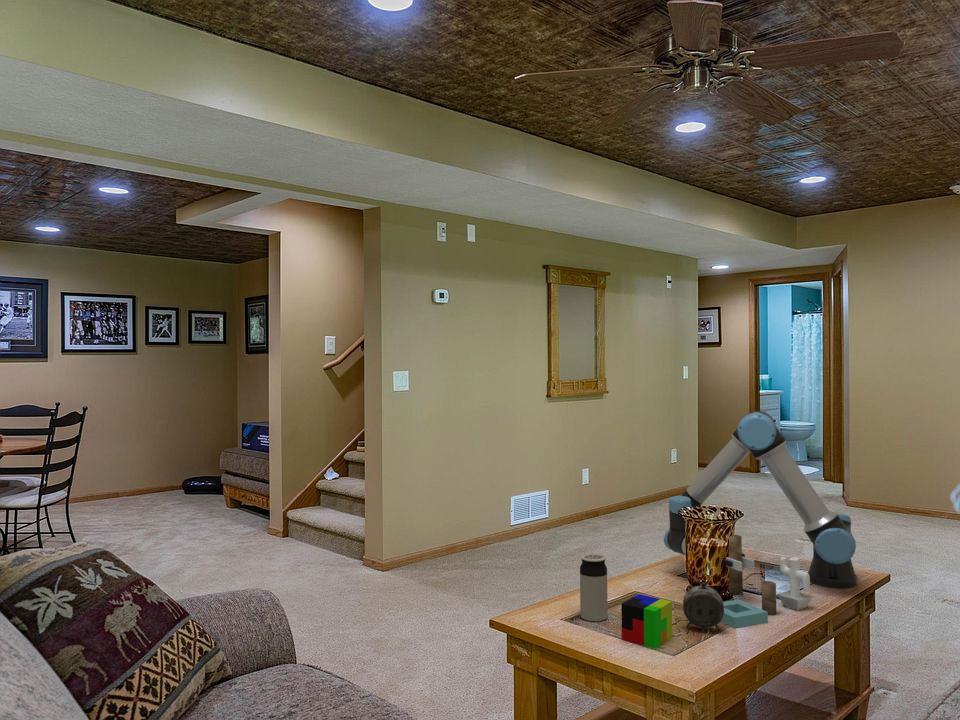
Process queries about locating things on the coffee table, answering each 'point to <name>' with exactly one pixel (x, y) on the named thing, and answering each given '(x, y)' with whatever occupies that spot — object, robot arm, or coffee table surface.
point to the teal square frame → (742, 614)
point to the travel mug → (593, 588)
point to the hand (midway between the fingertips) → (747, 565)
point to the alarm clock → (703, 606)
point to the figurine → (794, 584)
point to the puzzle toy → (646, 621)
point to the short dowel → (769, 597)
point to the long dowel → (734, 575)
